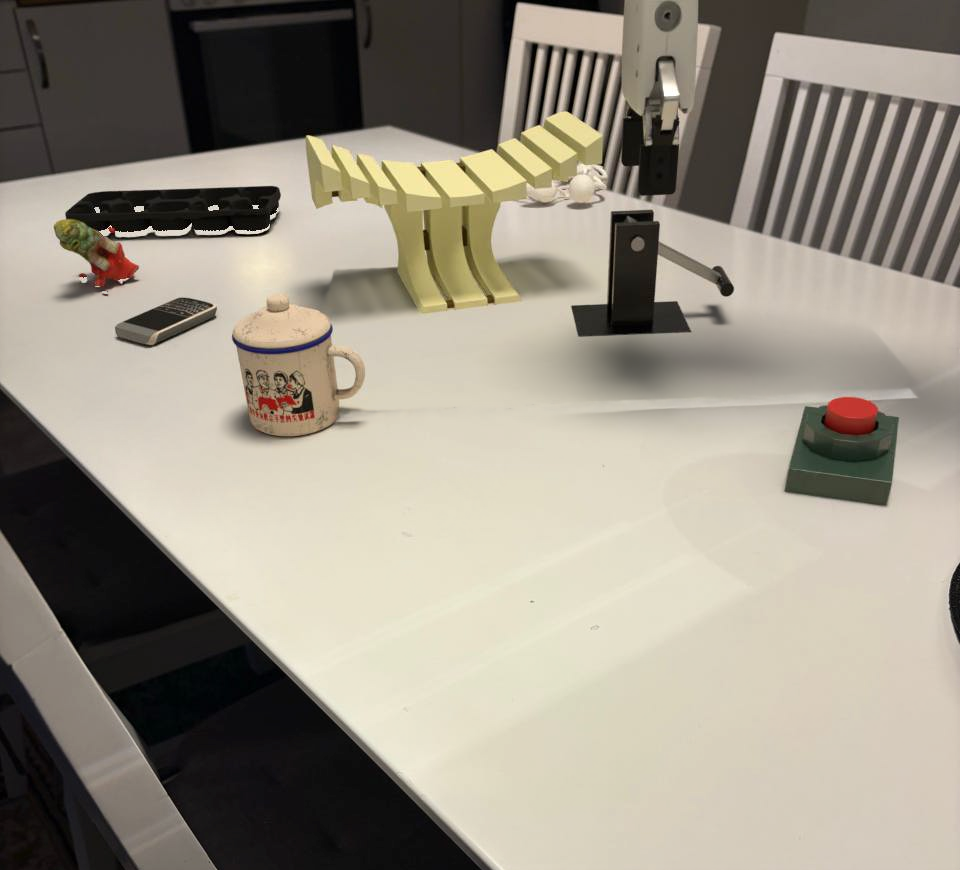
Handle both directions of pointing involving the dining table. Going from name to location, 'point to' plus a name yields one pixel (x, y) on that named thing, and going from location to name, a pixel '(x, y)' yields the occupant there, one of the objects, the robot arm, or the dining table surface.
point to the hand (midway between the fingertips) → (646, 178)
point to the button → (851, 416)
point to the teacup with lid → (291, 368)
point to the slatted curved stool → (454, 204)
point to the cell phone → (165, 320)
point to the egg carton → (179, 209)
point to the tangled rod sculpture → (574, 185)
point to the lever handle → (695, 267)
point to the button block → (843, 460)
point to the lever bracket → (631, 284)
